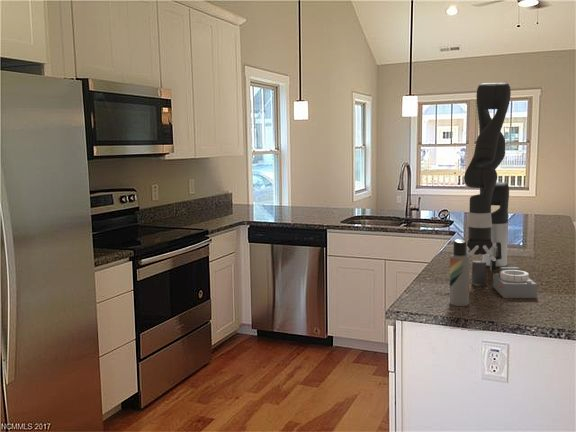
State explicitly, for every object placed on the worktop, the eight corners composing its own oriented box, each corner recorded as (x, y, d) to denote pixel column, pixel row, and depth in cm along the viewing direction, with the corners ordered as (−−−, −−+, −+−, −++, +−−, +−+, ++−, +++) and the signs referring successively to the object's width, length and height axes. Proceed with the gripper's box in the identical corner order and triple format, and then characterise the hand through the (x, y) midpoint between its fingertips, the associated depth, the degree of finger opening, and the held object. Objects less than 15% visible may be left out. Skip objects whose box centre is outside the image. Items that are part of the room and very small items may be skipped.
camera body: (491, 286, 188) (491, 266, 187) (523, 286, 187) (523, 266, 186) (501, 297, 174) (502, 276, 173) (536, 298, 173) (537, 276, 172)
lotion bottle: (465, 300, 172) (466, 238, 169) (471, 306, 166) (472, 241, 164) (447, 301, 172) (447, 238, 169) (453, 306, 166) (453, 241, 164)
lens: (470, 282, 194) (471, 260, 193) (484, 282, 193) (484, 260, 192) (473, 286, 189) (473, 263, 188) (487, 286, 189) (487, 263, 188)
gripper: (498, 223, 191) (497, 269, 193) (456, 223, 193) (456, 268, 195) (504, 226, 184) (503, 273, 186) (460, 227, 186) (460, 273, 188)
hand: (479, 271), depth 191 cm, fingers open, 8 cm apart
